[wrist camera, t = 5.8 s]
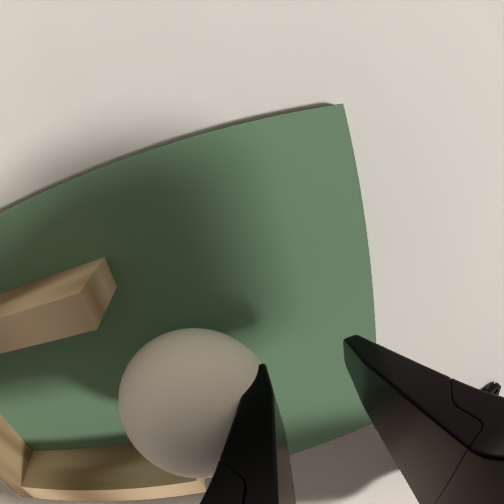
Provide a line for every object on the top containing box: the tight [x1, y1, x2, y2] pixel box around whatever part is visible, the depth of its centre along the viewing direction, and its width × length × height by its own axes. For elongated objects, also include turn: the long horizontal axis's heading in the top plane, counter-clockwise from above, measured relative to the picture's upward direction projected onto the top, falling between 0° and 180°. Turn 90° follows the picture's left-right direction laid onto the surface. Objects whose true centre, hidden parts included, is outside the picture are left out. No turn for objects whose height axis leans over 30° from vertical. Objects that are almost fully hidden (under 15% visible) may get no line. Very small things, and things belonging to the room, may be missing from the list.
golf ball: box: [118, 328, 275, 478], centre depth 8 cm, size 4×4×4 cm
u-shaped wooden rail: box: [0, 257, 206, 501], centre depth 9 cm, size 10×9×2 cm
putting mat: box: [0, 104, 376, 454], centre depth 11 cm, size 18×14×1 cm
